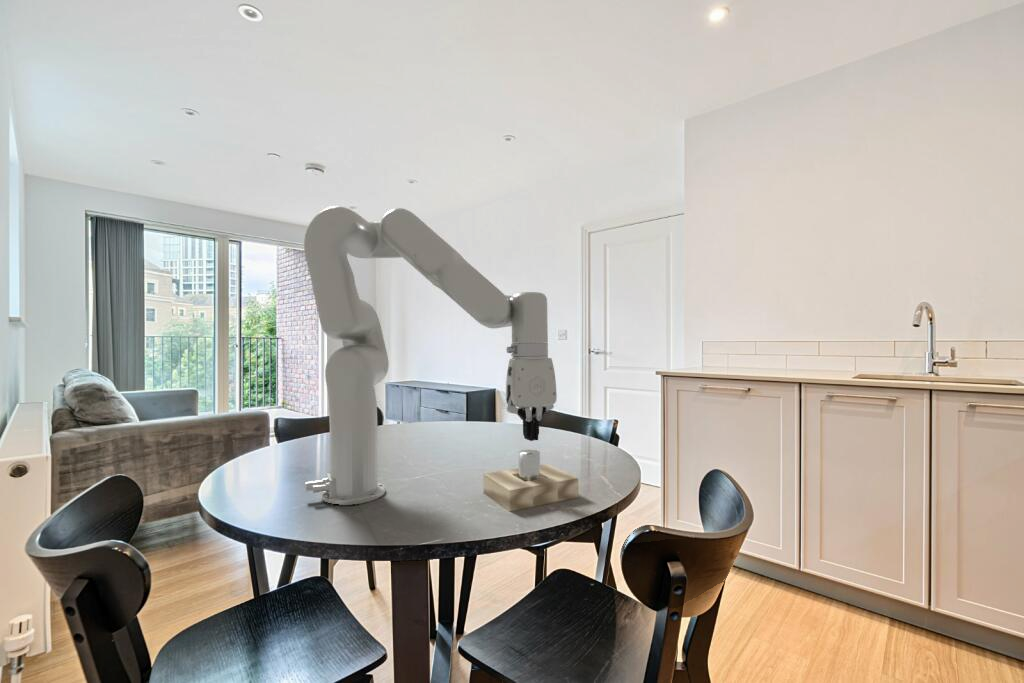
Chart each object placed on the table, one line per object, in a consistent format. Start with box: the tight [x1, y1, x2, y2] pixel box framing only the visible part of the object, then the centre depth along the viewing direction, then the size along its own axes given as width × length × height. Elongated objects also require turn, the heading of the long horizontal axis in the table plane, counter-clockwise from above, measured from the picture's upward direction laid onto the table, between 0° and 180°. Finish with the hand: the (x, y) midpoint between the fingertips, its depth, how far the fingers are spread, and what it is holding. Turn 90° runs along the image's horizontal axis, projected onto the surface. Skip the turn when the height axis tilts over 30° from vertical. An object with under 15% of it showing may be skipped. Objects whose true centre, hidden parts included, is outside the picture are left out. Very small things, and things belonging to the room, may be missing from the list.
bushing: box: [518, 449, 541, 482], centre depth 94 cm, size 4×4×9 cm
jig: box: [482, 463, 579, 512], centre depth 94 cm, size 16×12×4 cm
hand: (531, 439), depth 94 cm, fingers closed
